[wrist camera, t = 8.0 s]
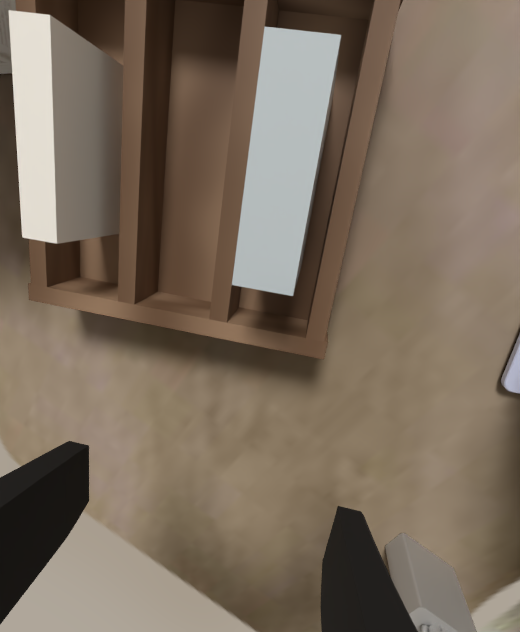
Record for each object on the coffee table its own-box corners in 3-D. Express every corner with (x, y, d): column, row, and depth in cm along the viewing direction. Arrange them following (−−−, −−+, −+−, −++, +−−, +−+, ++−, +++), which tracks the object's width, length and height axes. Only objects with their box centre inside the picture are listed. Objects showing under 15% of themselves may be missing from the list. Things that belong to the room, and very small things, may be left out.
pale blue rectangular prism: (333, 98, 15) (341, 35, 9) (301, 264, 17) (292, 296, 12) (285, 91, 15) (264, 26, 9) (260, 257, 17) (231, 284, 12)
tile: (130, 70, 16) (50, 14, 11) (125, 232, 18) (57, 243, 13) (100, 66, 16) (8, 10, 11) (99, 228, 18) (22, 237, 13)
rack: (394, 10, 15) (416, -47, 11) (323, 332, 19) (323, 359, 16) (71, -23, 16) (7, -81, 13) (76, 284, 20) (28, 299, 17)
